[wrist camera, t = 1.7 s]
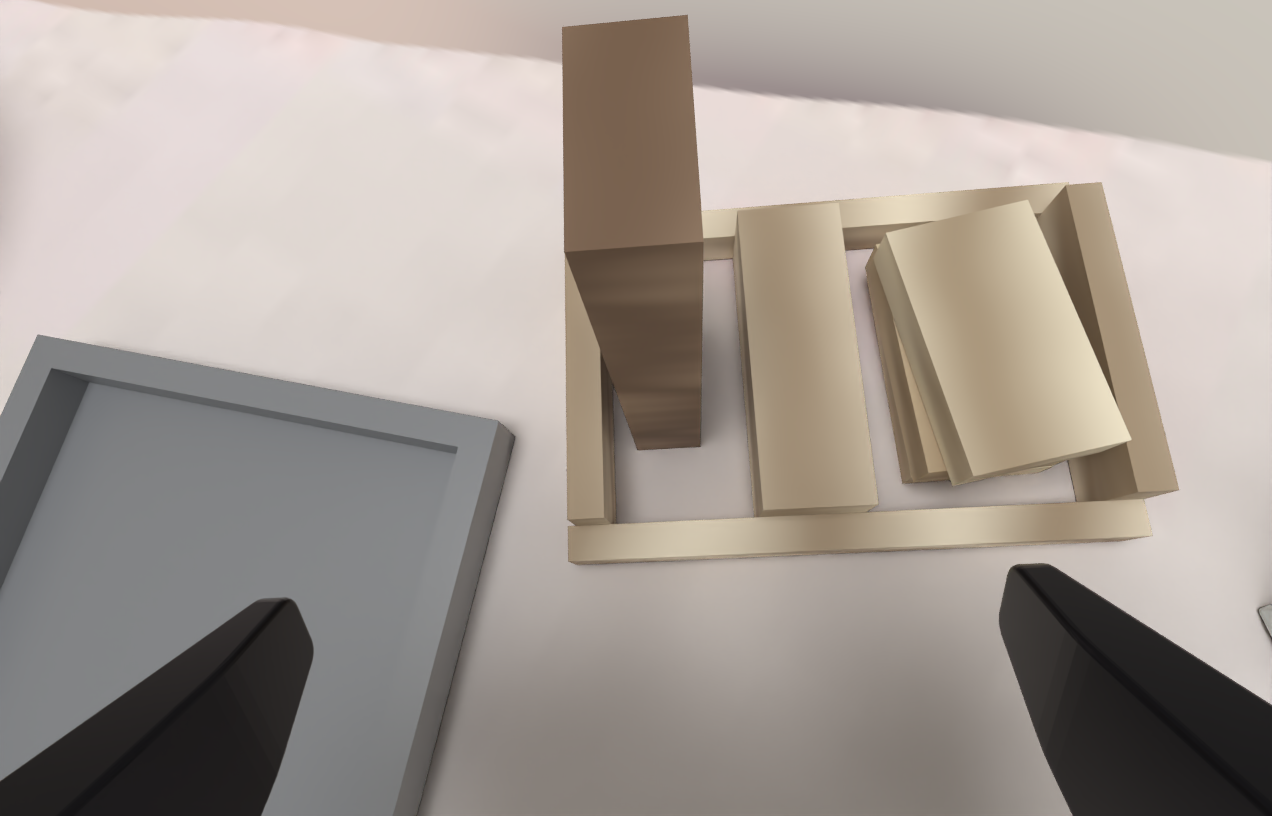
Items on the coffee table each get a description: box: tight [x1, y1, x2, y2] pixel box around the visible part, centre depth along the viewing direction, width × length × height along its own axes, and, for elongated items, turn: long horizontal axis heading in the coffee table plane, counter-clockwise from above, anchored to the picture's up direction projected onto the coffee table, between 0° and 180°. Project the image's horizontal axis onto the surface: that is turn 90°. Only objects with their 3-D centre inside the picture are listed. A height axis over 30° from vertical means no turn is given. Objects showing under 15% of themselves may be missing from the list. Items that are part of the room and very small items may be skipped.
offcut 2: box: [873, 200, 1132, 486], centre depth 19 cm, size 4×7×2 cm, turn 12°
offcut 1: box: [865, 244, 1063, 482], centre depth 21 cm, size 4×7×2 cm, turn 7°
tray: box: [0, 335, 515, 816], centre depth 21 cm, size 16×16×2 cm
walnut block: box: [562, 15, 704, 450], centre depth 17 cm, size 2×4×13 cm, turn 2°
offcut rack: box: [565, 182, 1179, 565], centre depth 21 cm, size 16×11×3 cm
